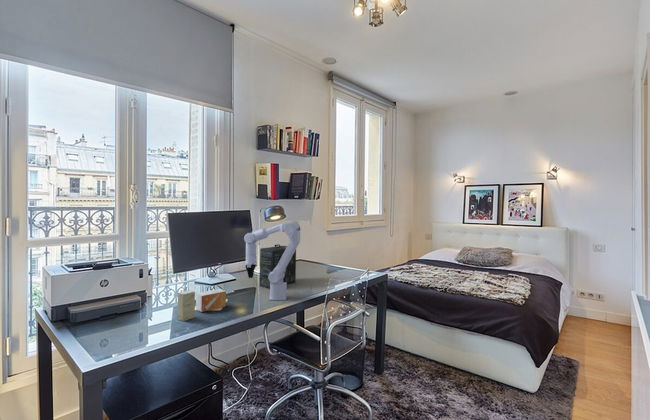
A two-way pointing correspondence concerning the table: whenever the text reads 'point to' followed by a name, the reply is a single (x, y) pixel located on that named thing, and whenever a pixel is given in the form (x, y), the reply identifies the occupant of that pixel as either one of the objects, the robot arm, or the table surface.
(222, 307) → the mat
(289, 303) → the table surface
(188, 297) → the skincare box
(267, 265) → the headset box
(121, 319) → the table surface
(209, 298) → the small box
